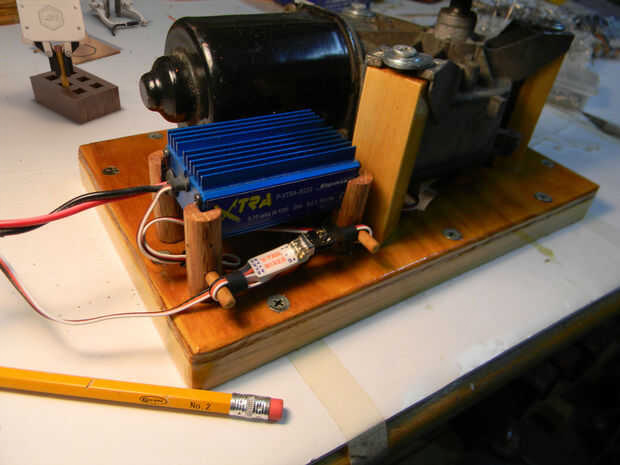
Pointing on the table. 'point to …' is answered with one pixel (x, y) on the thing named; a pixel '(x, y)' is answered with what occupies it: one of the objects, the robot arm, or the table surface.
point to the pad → (89, 51)
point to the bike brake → (104, 9)
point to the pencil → (61, 65)
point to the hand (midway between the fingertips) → (63, 74)
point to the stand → (76, 95)
